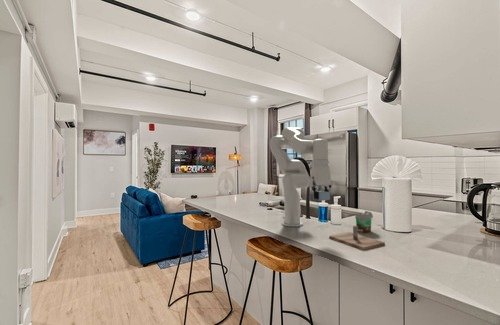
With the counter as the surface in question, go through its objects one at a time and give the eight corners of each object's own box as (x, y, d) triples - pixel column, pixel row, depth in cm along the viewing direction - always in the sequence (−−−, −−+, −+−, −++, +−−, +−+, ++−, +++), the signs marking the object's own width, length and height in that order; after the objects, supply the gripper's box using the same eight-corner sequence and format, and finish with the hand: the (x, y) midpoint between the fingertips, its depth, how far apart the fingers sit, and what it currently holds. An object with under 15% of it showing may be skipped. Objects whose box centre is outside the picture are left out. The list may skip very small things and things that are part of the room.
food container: (367, 235, 127) (366, 215, 127) (355, 232, 132) (355, 214, 132) (377, 230, 135) (376, 212, 135) (365, 228, 140) (365, 210, 140)
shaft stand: (329, 238, 123) (328, 223, 123) (349, 234, 129) (348, 220, 129) (363, 250, 105) (363, 233, 105) (384, 245, 111) (384, 229, 111)
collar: (312, 199, 126) (312, 191, 127) (321, 198, 129) (321, 190, 129) (320, 200, 121) (320, 192, 121) (330, 199, 124) (329, 191, 124)
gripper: (328, 163, 133) (328, 196, 132) (302, 163, 125) (303, 199, 125) (338, 163, 126) (339, 198, 126) (312, 163, 118) (312, 200, 118)
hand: (321, 198), depth 125 cm, fingers closed on collar, 6 cm apart
